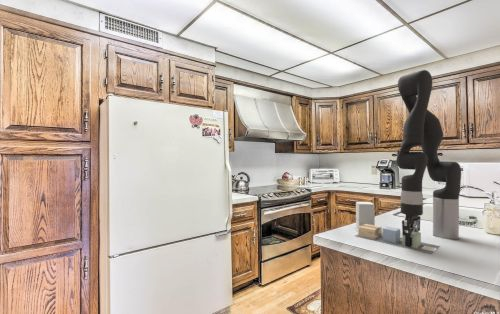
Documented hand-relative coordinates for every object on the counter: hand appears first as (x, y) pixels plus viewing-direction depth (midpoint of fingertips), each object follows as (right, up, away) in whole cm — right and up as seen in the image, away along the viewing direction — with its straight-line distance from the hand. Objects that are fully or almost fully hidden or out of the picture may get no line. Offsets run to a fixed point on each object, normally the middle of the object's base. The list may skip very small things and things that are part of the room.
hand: (411, 244), depth 105 cm
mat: (-4, -1, +5) cm, 7 cm away
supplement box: (-7, -1, +26) cm, 27 cm away
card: (+4, 0, -4) cm, 6 cm away
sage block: (0, 0, 0) cm, 0 cm away
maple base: (-11, 0, +12) cm, 17 cm away
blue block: (-5, 0, +6) cm, 8 cm away
